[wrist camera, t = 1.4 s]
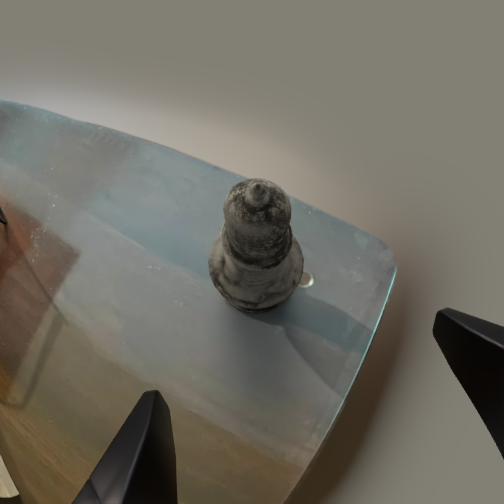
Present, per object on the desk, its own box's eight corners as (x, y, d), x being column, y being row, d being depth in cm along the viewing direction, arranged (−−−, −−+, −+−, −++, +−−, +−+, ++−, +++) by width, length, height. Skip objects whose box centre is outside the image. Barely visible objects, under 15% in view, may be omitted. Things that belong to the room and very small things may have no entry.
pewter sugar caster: (242, 333, 21) (228, 296, 9) (200, 264, 22) (153, 167, 11) (311, 289, 22) (369, 209, 10) (267, 226, 23) (278, 109, 12)
